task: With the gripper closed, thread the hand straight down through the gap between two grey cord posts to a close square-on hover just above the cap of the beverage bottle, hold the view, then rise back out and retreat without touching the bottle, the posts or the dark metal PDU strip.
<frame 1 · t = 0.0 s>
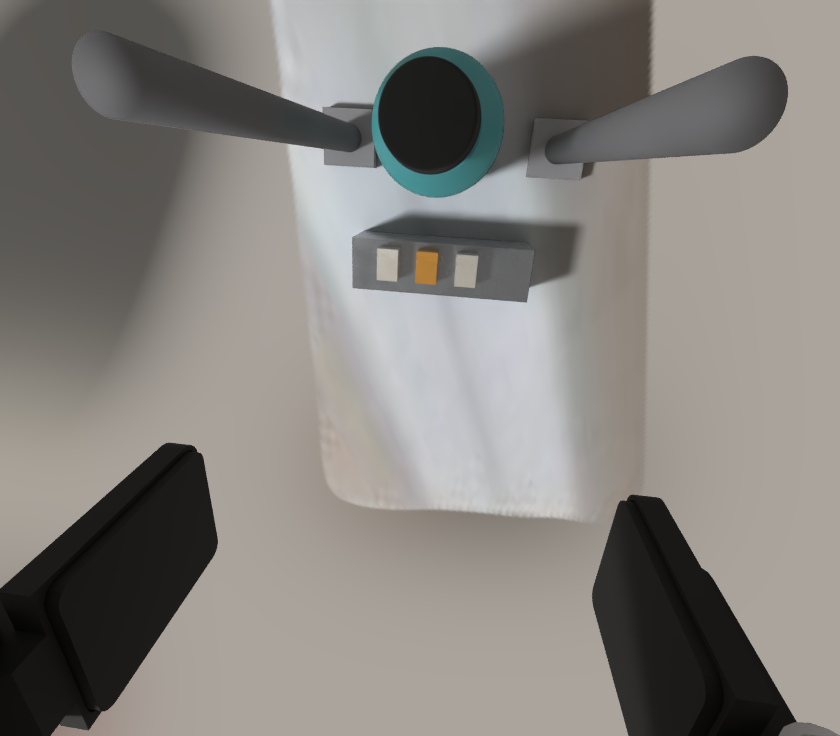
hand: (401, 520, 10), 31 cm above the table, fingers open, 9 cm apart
cord post 1: (351, 138, 35), on the table
pdu strip: (443, 260, 39), on the table
beverage bottle: (452, 144, 35), on the table
cord post 2: (556, 150, 34), on the table
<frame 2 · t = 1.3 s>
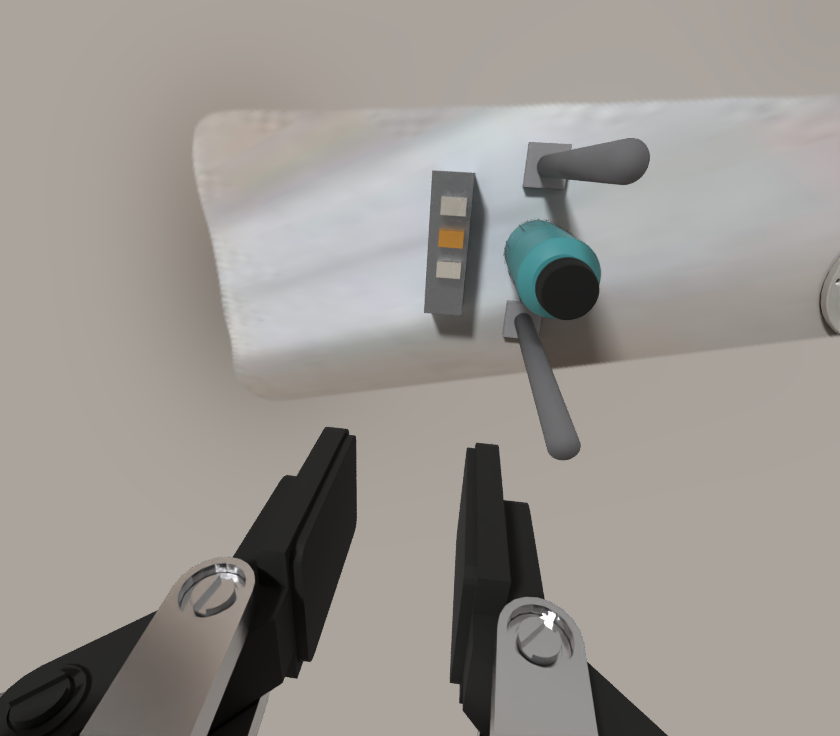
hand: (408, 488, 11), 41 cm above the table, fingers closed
cord post 1: (545, 166, 45), on the table
pdu strip: (449, 241, 49), on the table
beverage bottle: (533, 247, 48), on the table
cord post 2: (522, 318, 51), on the table
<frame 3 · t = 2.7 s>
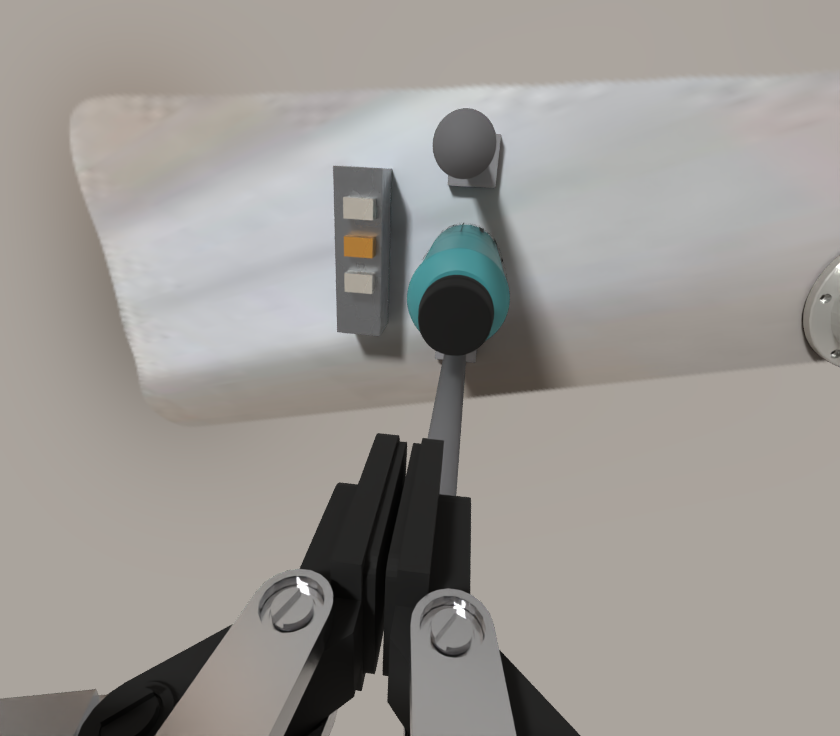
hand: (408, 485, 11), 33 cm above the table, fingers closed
cord post 1: (473, 160, 38), on the table
pdu strip: (368, 249, 42), on the table
beverage bottle: (464, 256, 41), on the table
cord post 2: (457, 338, 44), on the table
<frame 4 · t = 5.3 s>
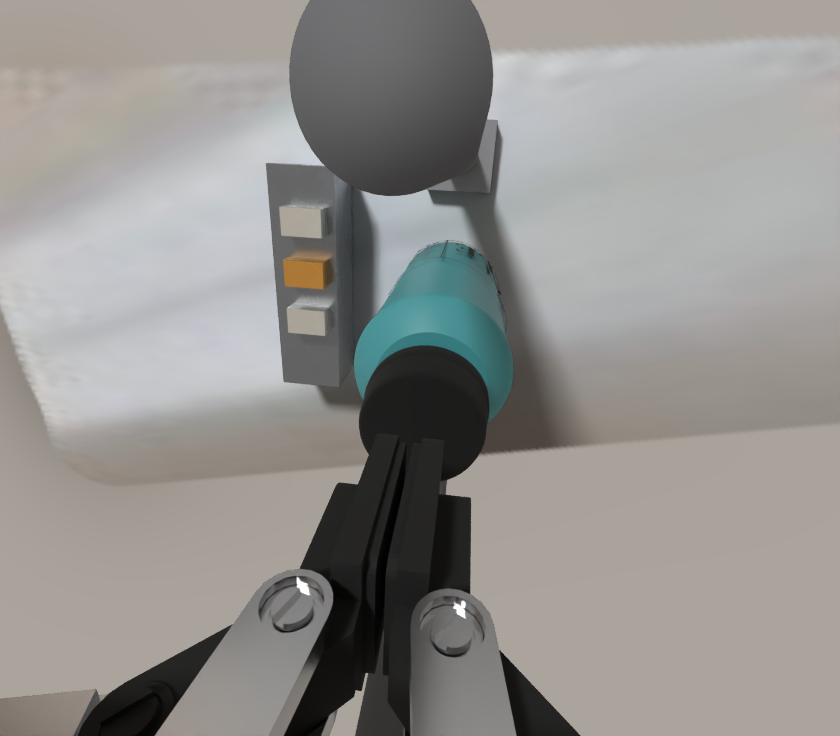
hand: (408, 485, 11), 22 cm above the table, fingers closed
cord post 1: (460, 156, 28), on the table
pdu strip: (325, 272, 32), on the table
beverage bottle: (450, 281, 31), on the table
cord post 2: (442, 384, 35), on the table
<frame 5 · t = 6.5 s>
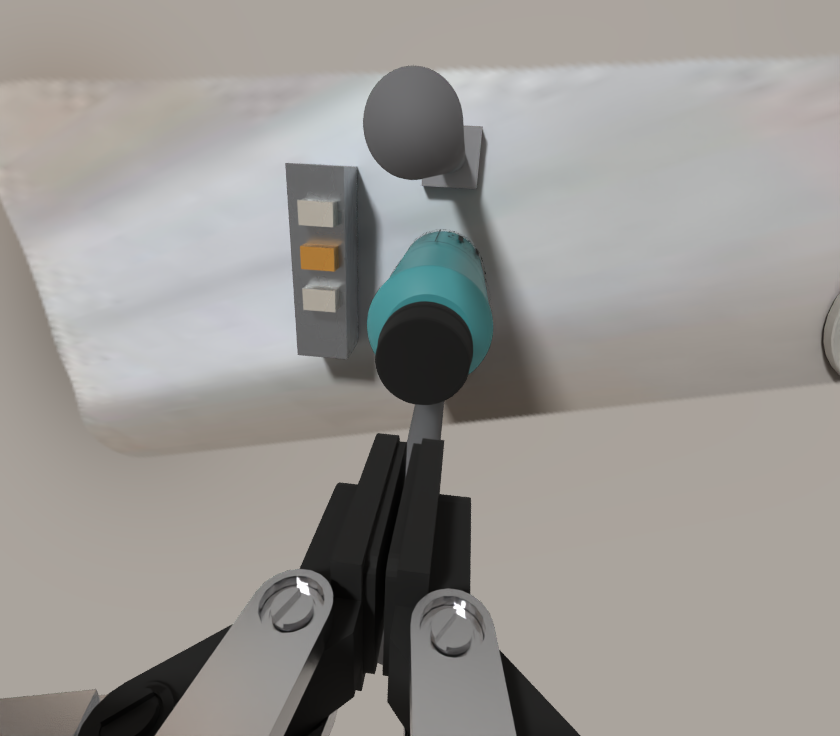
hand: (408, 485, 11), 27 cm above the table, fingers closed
cord post 1: (451, 157, 33), on the table
pdu strip: (333, 259, 36), on the table
beverage bottle: (443, 266, 36), on the table
cord post 2: (436, 358, 39), on the table
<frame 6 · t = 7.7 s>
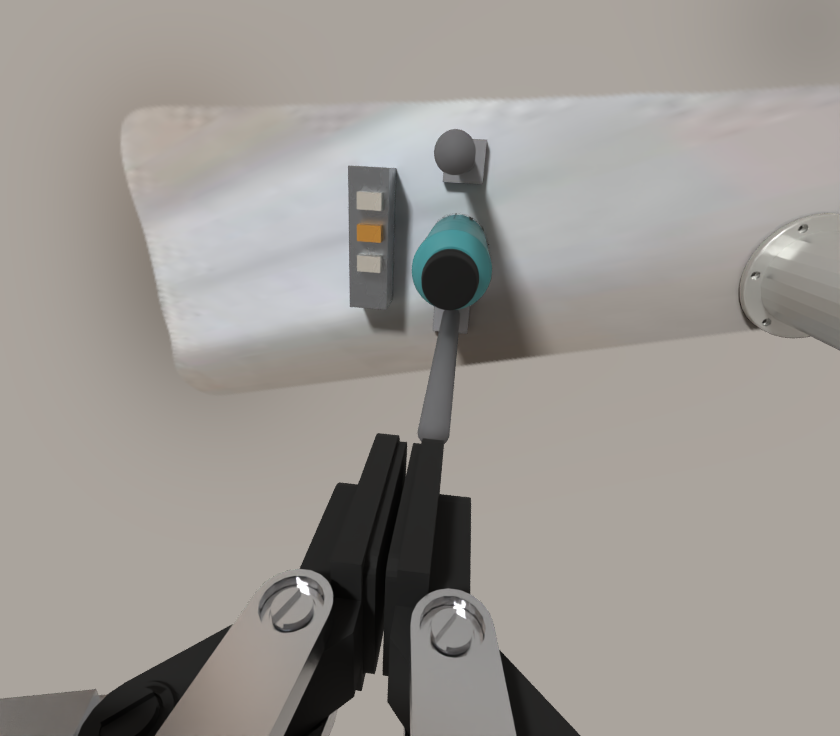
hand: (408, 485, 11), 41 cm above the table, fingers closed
cord post 1: (464, 161, 45), on the table
pdu strip: (376, 236, 49), on the table
beverage bottle: (457, 242, 49), on the table
cord post 2: (451, 313, 52), on the table
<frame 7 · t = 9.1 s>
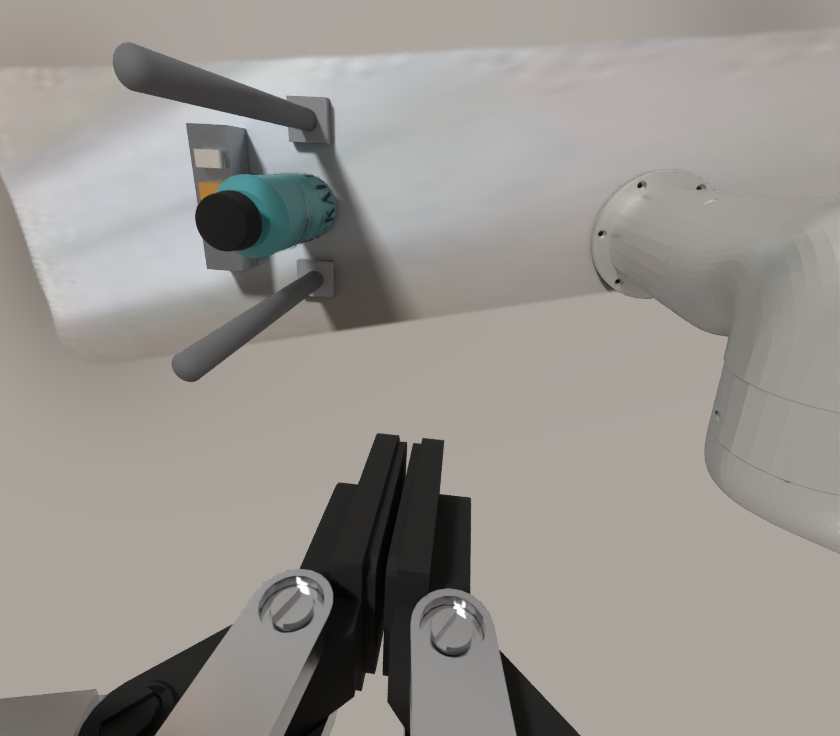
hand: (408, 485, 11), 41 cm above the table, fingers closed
cord post 1: (310, 120, 45), on the table
pdu strip: (234, 199, 49), on the table
beverage bottle: (314, 204, 49), on the table
cord post 2: (317, 277, 52), on the table
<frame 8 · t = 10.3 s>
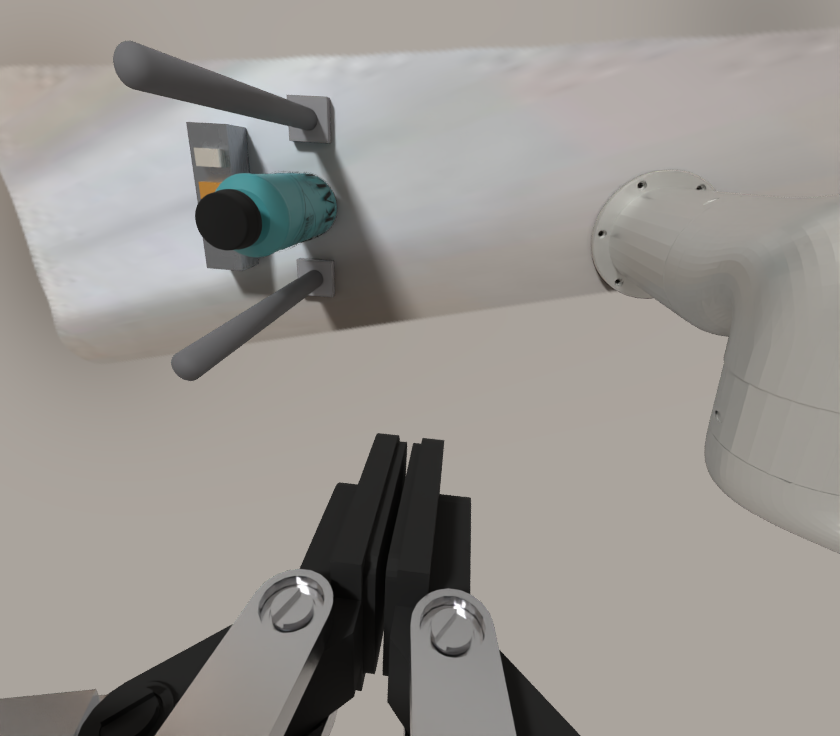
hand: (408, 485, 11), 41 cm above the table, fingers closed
cord post 1: (310, 120, 45), on the table
pdu strip: (235, 198, 49), on the table
beverage bottle: (315, 203, 49), on the table
cord post 2: (317, 276, 52), on the table
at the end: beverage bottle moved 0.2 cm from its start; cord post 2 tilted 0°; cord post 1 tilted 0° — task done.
